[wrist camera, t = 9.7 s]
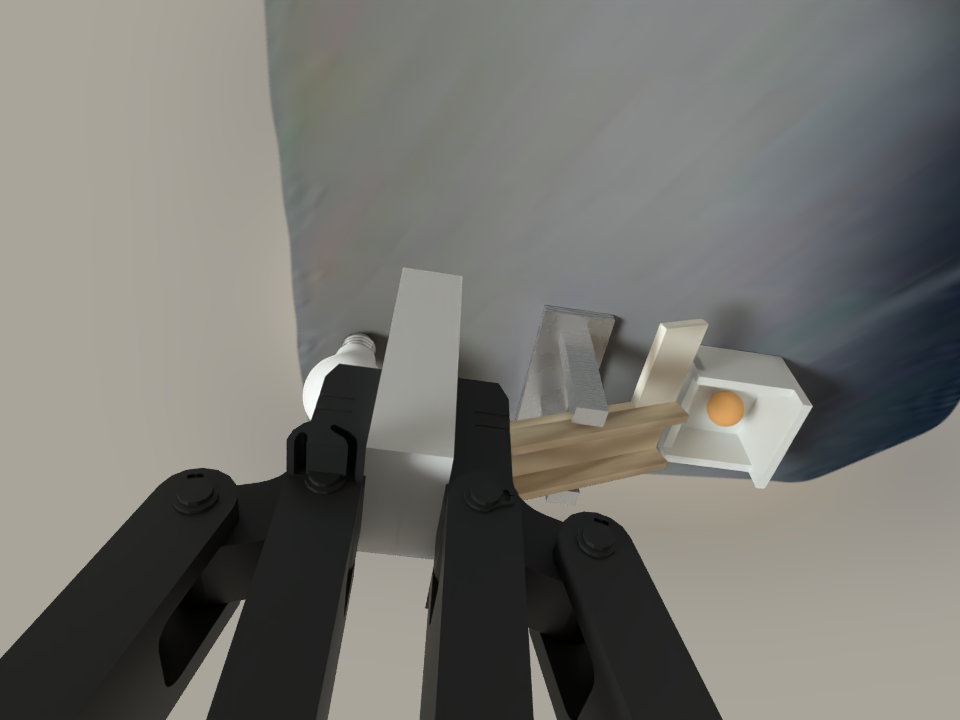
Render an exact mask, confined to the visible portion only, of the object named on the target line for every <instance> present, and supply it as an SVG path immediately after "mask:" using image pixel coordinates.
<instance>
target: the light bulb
mask: <svg viewBox="0 0 960 720" xmlns="http://www.w3.org/2000/svg"><path fill="white" fill-rule="evenodd" d="M375 353H376V346H375V344H374V342H373V340H372V339H371V338H370V337H369V336H368V335H365V334H363V333H354V334H350V335H349V336H348V337H347V338H346V339H345V340H344V341H343V342H342V345H341V348H340V349H339V350H338V352H337V353H336V355H333V356H331V357H328V358H326V359H324V360H322V361H321V362H319V363H318V364H317V365H316V366H315V367H314V368H313V369H312V370H311V372H310V374H309V375H308V377H307V379H306V381H305V385H304V389H303V403H304V408H305V411H306V413H307V415H308V417H309V419H310V420H311V419H312V416H313V413H314V409H315V408H316V403H317V400H318V397H319V395H320V391H321V388H322V384H323V381H324V378H325V376H326V375H327V374H328V373H329V372H330V371H331V370H333V369H334V368H335V367H336V366H337V365H338V364H339V363H340V364H347V365H355V366H362V367H370V368H377V369H379V368H378V367H377V366H376V361H375Z"/></svg>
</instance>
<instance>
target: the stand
mask: <svg viewBox="0 0 960 720" xmlns="http://www.w3.org/2000/svg"><path fill="white" fill-rule="evenodd" d="M614 323H615V319H614V316H613V315H609V314H602V313H595V312H588V311H582V310H575V309H568V308H561V307H554V306H548V305H545V306H544V310H543V314H542V318H541V322H540V325H539V329H538V333H537V337H536V341H535V345H534V349H533V352H532V356H531V360H530V364H529V368H528V372H527V376H526V380H525V383H524V387H523V391H522V395H521V399H520V403H519V407H518V411H517V414H516V418H515V421H516V420H522V419H528V418H534V417H540V416H547V415H553V414H559V413H565V412H566V411H567V408H568V404H569V410H570V416H571V422H572V423H576V424H584V425H591V426H599V427H603V426H604V423H605V421H606V418H607V415H608V412H609V410H608V406H607V402H606V398H605V394H604V390H603V386H602V381H601V377H600V373H599V368H600V365H601V362H602V359H603V356H604V353H605V350H606V347H607V344H608V341H609V338H610V335H611V332H612V329H613V326H614ZM579 493H580V492H579V488H578V489H573V490H569V491H564V492H560V493H555V494H551V495H546V502H550V503H559V504H567V505H575V504H576V501H577V498H578V496H579Z"/></svg>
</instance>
